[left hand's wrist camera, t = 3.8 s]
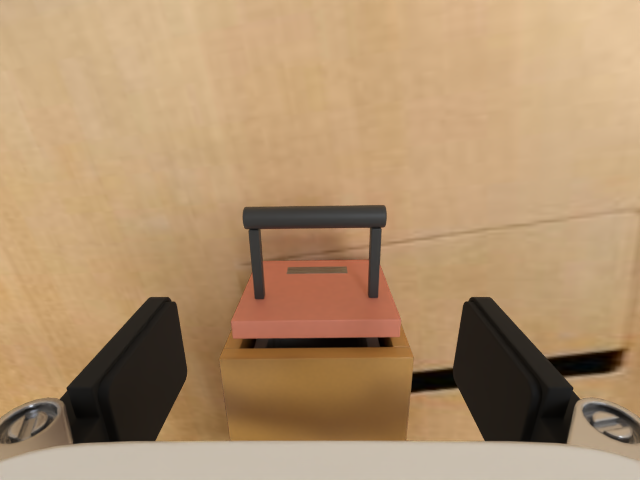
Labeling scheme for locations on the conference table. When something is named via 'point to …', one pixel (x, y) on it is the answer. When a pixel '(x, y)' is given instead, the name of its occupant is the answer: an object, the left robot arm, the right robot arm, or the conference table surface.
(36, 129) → the conference table surface
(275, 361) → the tan box
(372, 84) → the conference table surface
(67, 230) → the conference table surface
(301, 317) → the drawer
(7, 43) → the conference table surface
